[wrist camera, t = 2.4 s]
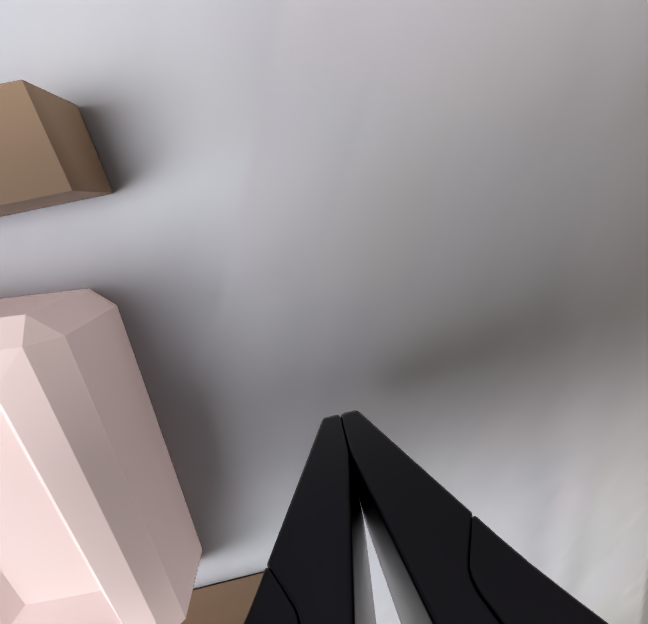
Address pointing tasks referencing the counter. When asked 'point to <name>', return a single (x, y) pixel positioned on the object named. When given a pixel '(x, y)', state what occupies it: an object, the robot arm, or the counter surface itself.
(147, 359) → the counter surface
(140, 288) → the counter surface
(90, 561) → the soap bar
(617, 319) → the counter surface
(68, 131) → the guide channel
